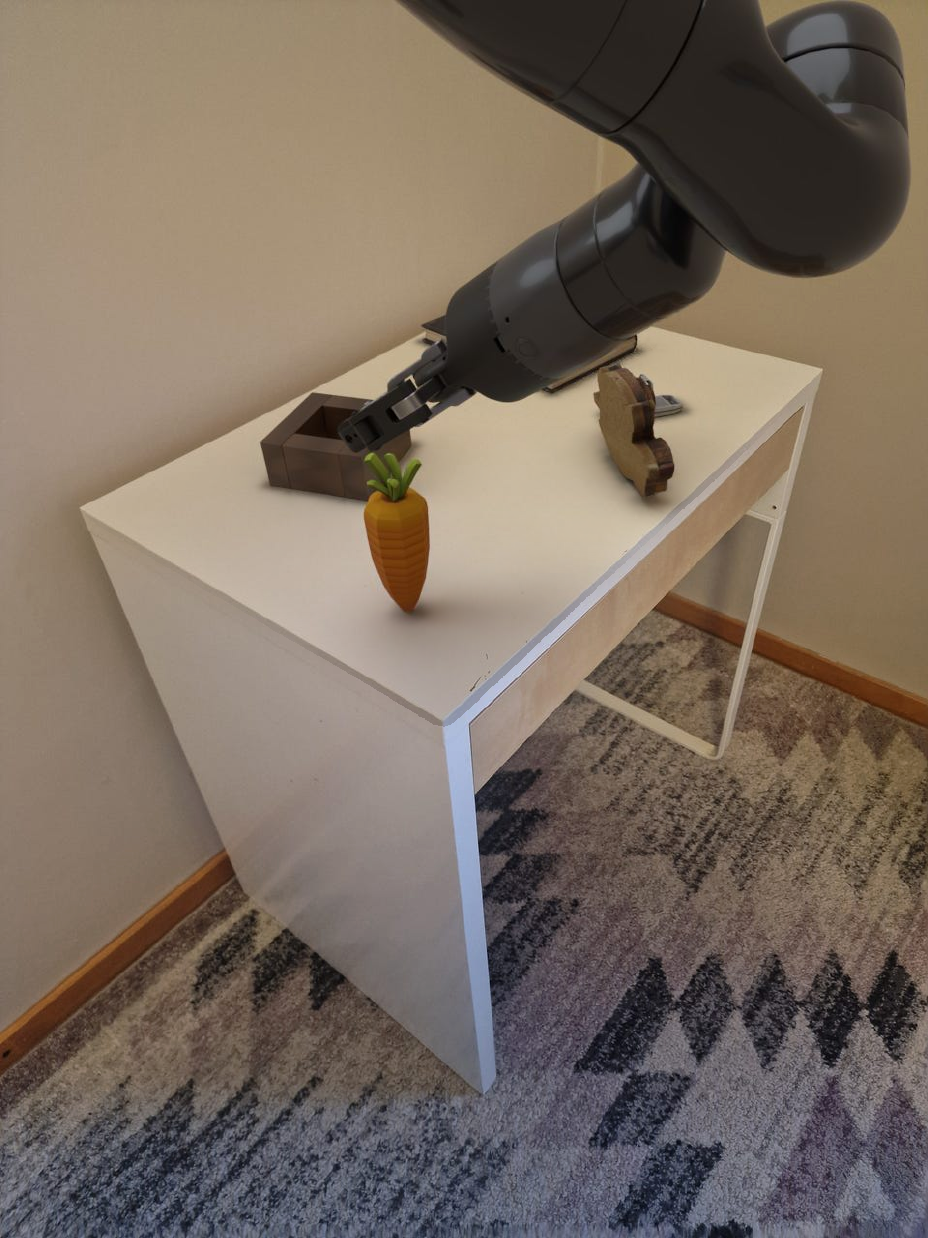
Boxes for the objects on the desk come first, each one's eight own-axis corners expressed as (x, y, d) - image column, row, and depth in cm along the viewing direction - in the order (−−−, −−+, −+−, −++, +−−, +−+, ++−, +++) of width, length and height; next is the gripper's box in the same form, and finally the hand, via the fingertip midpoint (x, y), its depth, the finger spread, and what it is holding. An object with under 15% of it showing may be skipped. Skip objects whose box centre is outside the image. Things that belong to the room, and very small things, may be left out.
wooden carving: (688, 506, 81) (701, 410, 74) (643, 516, 80) (653, 419, 74) (616, 428, 93) (623, 339, 86) (577, 435, 92) (580, 346, 86)
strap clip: (670, 400, 97) (674, 365, 94) (683, 412, 95) (688, 376, 92) (601, 414, 96) (603, 378, 93) (613, 426, 93) (615, 390, 91)
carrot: (449, 603, 72) (436, 445, 62) (415, 638, 69) (396, 477, 59) (401, 585, 74) (381, 430, 64) (366, 618, 71) (340, 460, 61)
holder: (269, 485, 88) (259, 442, 85) (319, 433, 96) (312, 391, 92) (368, 501, 85) (361, 456, 81) (411, 446, 92) (407, 403, 89)
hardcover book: (551, 393, 100) (551, 375, 98) (422, 341, 113) (421, 324, 112) (637, 349, 108) (638, 331, 106) (507, 305, 121) (507, 289, 119)
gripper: (569, 211, 52) (414, 324, 64) (433, 302, 43) (286, 411, 56) (631, 321, 54) (469, 409, 66) (512, 427, 46) (353, 505, 58)
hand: (385, 410), depth 61 cm, fingers open, 8 cm apart
